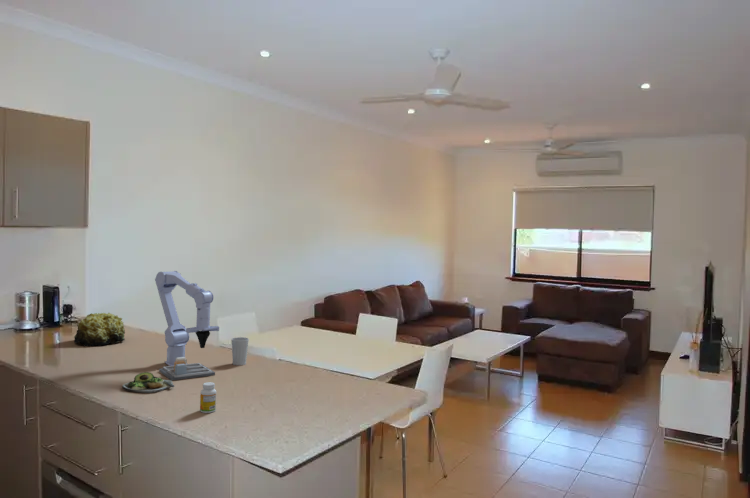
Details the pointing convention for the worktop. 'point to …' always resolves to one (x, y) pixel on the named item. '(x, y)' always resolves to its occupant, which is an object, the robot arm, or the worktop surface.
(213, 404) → the supplement bottle
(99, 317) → the mossy green rock
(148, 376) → the salad plate
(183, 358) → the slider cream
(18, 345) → the worktop surface
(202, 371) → the panel
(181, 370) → the slider blue
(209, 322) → the robot arm
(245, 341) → the cup
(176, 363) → the slider orange
